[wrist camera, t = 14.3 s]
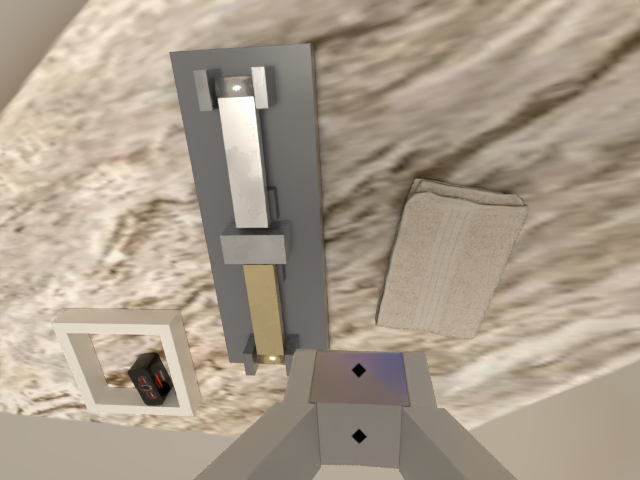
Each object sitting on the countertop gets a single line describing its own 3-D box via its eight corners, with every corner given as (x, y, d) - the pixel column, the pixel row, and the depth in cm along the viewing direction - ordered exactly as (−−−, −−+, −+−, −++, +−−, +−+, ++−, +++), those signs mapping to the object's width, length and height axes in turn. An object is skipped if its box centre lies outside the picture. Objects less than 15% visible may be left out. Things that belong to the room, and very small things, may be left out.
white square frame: (179, 309, 48) (169, 324, 46) (201, 398, 55) (193, 416, 52) (67, 308, 50) (51, 322, 47) (101, 394, 56) (88, 411, 54)
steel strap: (256, 75, 32) (250, 75, 30) (271, 221, 37) (267, 228, 35) (220, 77, 32) (213, 77, 31) (240, 222, 37) (235, 229, 36)
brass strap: (276, 257, 39) (272, 266, 37) (287, 356, 45) (284, 368, 43) (246, 257, 39) (242, 266, 38) (261, 356, 45) (258, 367, 43)
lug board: (314, 44, 34) (304, 41, 28) (329, 347, 49) (325, 387, 43) (183, 52, 36) (149, 51, 30) (236, 346, 50) (220, 384, 44)
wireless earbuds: (159, 392, 55) (148, 410, 52) (139, 352, 52) (126, 370, 49) (189, 388, 54) (179, 407, 51) (170, 349, 51) (158, 366, 49)
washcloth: (525, 189, 39) (538, 200, 36) (472, 332, 46) (479, 350, 44) (406, 172, 39) (410, 180, 36) (373, 316, 47) (374, 333, 44)
